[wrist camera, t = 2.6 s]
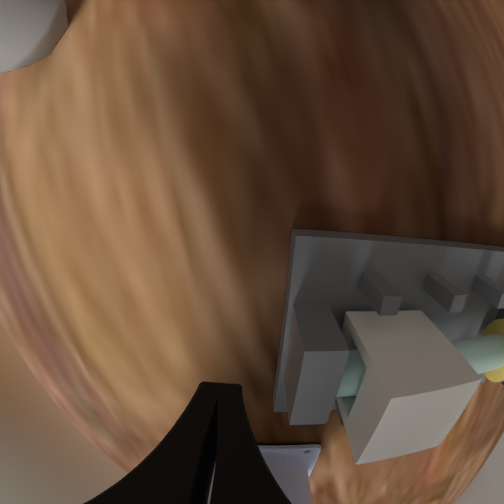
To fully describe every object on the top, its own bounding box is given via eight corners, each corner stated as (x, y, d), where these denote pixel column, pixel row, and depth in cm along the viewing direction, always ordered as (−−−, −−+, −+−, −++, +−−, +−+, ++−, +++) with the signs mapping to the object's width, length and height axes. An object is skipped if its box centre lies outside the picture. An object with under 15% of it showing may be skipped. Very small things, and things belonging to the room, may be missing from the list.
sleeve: (329, 376, 13) (355, 464, 8) (345, 311, 12) (391, 398, 7) (399, 371, 13) (439, 444, 8) (420, 310, 12) (482, 379, 7)
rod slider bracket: (272, 397, 16) (277, 469, 11) (291, 228, 13) (315, 273, 8) (476, 373, 16) (509, 415, 11) (522, 249, 13) (574, 277, 8)
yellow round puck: (470, 359, 13) (500, 394, 10) (492, 308, 12) (529, 339, 9) (480, 357, 13) (509, 390, 10) (501, 307, 12) (537, 336, 9)
